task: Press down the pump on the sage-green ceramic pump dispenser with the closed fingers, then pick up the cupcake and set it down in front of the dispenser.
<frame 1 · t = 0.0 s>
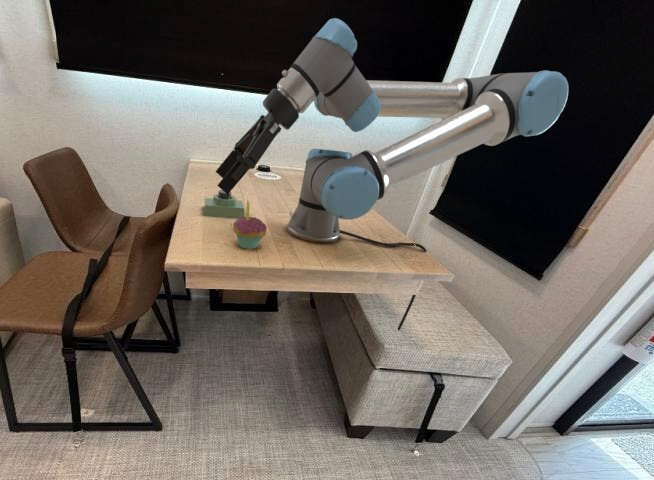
hand: (221, 182, 74), 15 cm above the table, tool tilted 35°, fingers open, 13 cm apart
pump: (224, 195, 101), point 6 cm above the table, slide at 0.1 cm
dispenser: (223, 212, 104), on the table
cupcake: (247, 245, 84), on the table
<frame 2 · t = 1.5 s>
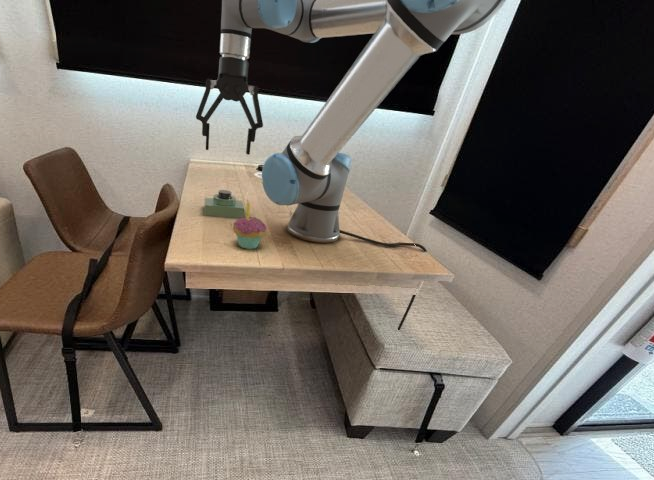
hand: (227, 151, 94), 18 cm above the table, tool pointing down, fingers open, 11 cm apart
nothing on the table moved.
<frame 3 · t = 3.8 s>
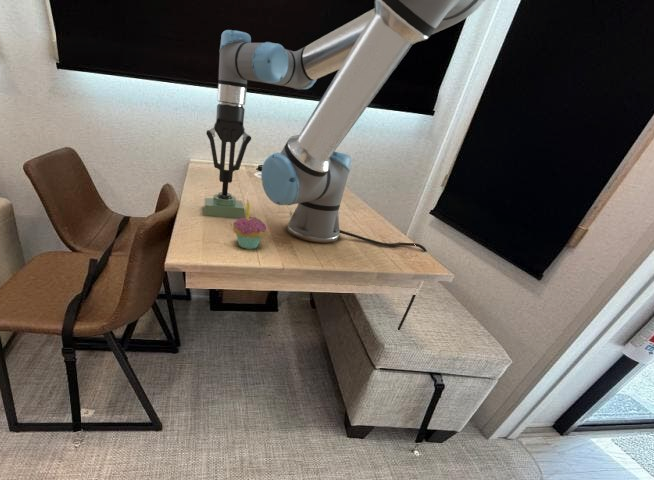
hand: (224, 192, 101), 6 cm above the table, tool pointing down, fingers closed
pump: (224, 197, 101), point 5 cm above the table, slide at -0.6 cm, touching gripper
everything else where it was.
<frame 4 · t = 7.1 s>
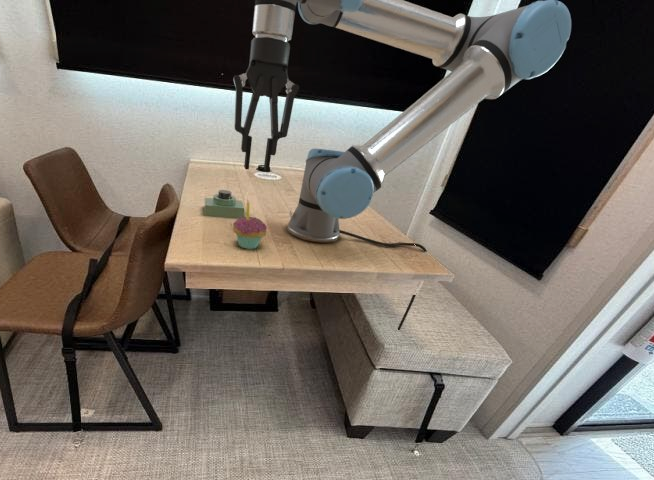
hand: (256, 168, 74), 19 cm above the table, tool pointing down, fingers open, 4 cm apart
pump: (224, 195, 101), point 6 cm above the table, slide at 0.1 cm
everything else where it was.
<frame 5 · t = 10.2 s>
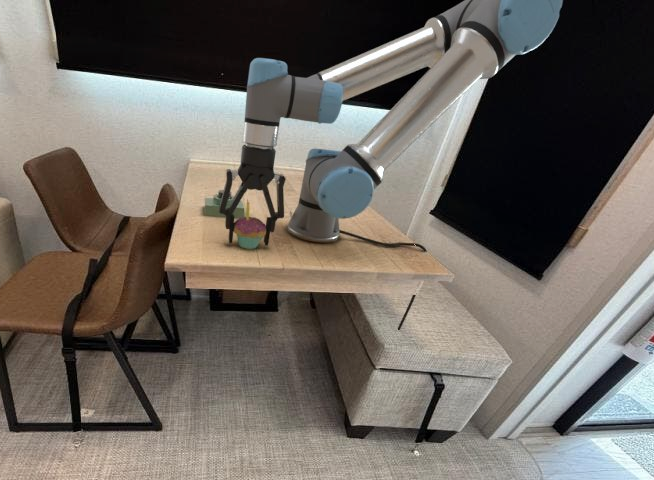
hand: (248, 242, 84), 1 cm above the table, tool pointing down, fingers closed on cupcake, 8 cm apart
cupcake: (247, 245, 84), on the table, touching gripper
everything else where it was.
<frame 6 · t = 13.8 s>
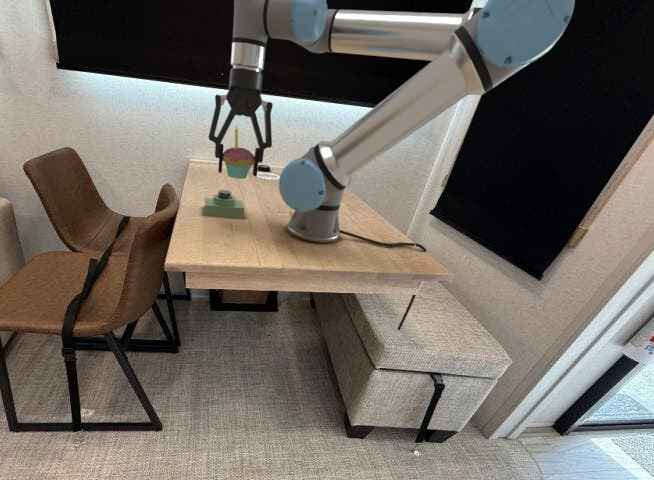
hand: (237, 173, 86), 15 cm above the table, tool pointing down, fingers closed on cupcake, 8 cm apart
cupcake: (236, 177, 87), point 14 cm above the table, touching gripper
everything else where it was.
when the fingers open (1 cm above the table, at t = 17.3 s): cupcake stays where it is, on the table.
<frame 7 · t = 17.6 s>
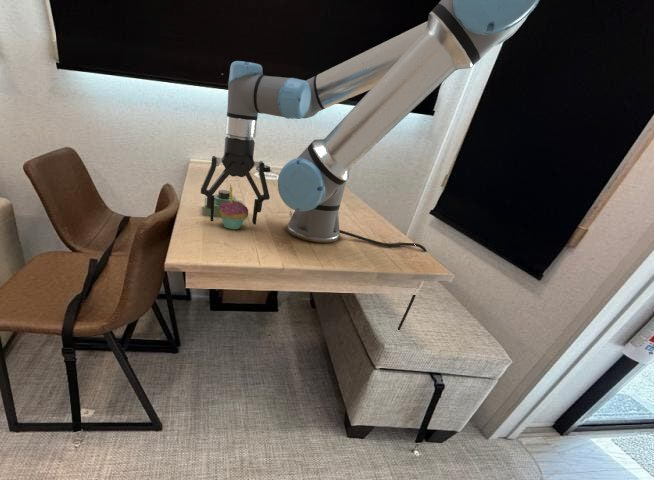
hand: (233, 221, 94), 2 cm above the table, tool pointing down, fingers open, 11 cm apart
cupcake: (231, 227, 95), on the table
everything else where it was.
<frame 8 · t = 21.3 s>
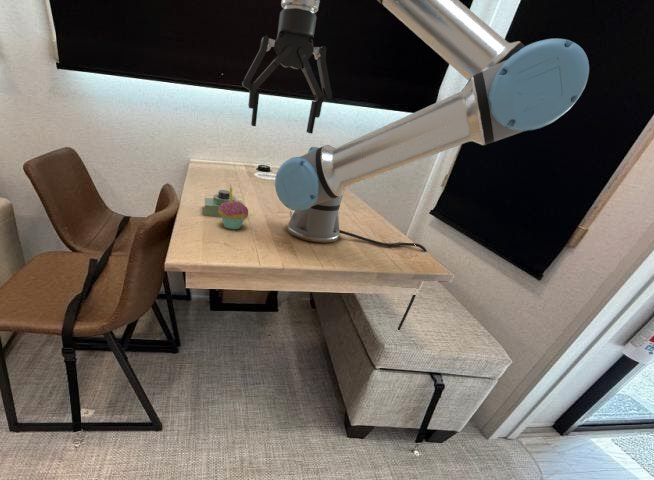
hand: (281, 129, 77), 27 cm above the table, tool pointing down, fingers open, 13 cm apart
nothing on the table moved.
at the end: pump pushed in 1.0 cm at the most during the clip, back to where it started at the end; pump slide at 0.1 cm; cupcake inside the target area on the table beside the dispenser (0.7 cm from its centre), on the table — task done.
